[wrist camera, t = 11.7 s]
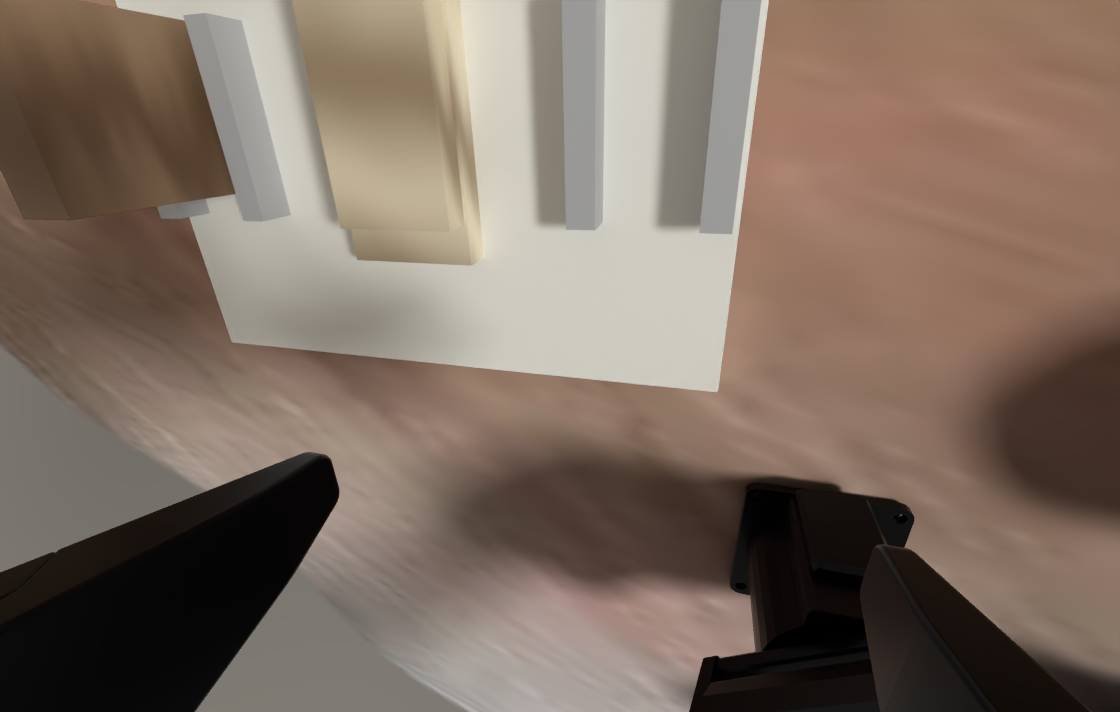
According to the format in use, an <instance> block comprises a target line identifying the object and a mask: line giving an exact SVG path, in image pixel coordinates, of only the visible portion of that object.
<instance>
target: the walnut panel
mask: <svg viewBox="0 0 1120 712" xmlns="http://www.w3.org/2000/svg"><path fill="white" fill-rule="evenodd" d="M0 170H1V172H2V174H3V176H4V178H5V180H6V182H7V184H8V186H9V188H10V191H11V193H12V195H13V197H14V199H15V201H16V203H17V205H18V207H19V209H20V211H21V213H22V215H23V217H24V219H43V220H75V219H81V218H87V217H94V216H100V215H106V214H113V213H119V212H125V211H131V210H138V209H144V208H150V207H157V206H163V205H169V204H175V203H182V202H188V201H194V200H201V199H207V198H213V197H220V196H226V195H232V194H236V193H235V190H234V186H233V183H232V180H231V176H230V173H229V169H228V166H227V163H226V159H225V156H224V152H223V149H222V146H221V142H220V139H219V136H218V132H217V129H216V125H215V122H214V119H213V115H212V112H211V108H210V105H209V102H208V98H207V95H206V91H205V88H204V85H203V81H202V78H201V75H200V71H199V68H198V64H197V61H196V58H195V54H194V51H193V47H192V44H191V41H190V37H189V34H188V30H187V27H186V24H185V21H184V20H179V19H174V18H169V17H163V16H158V15H153V14H148V13H142V12H137V11H132V10H126V9H121V8H116V7H111V6H105V5H100V4H95V3H90V2H84V1H79V0H0Z"/></svg>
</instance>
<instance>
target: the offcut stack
mask: <svg viewBox="0 0 1120 712" xmlns="http://www.w3.org/2000/svg"><path fill="white" fill-rule="evenodd" d="M292 4H293V9H294V13H295V18H296V23H297V27H298V32H299V37H300V41H301V46H302V51H303V55H304V60H305V65H306V69H307V74H308V79H309V84H310V88H311V93H312V98H313V102H314V107H315V112H316V116H317V121H318V126H319V130H320V135H321V140H322V144H323V149H324V154H325V158H326V163H327V168H328V172H329V177H330V182H331V187H332V191H333V196H334V201H335V205H336V210H337V215H338V219H339V224H340V228H341V229H351V232H352V237H353V242H354V247H355V252H356V257H357V260H365V261H386V262H407V263H427V264H448V265H469V266H472V265H473V264H475V263H476V262H478V261H480V260H481V259H483V258H484V254H483V243H482V232H481V221H480V210H479V199H478V189H477V178H476V167H475V156H474V145H473V135H472V124H471V113H470V102H469V91H468V80H467V70H466V59H465V48H464V37H463V26H462V15H461V5H460V0H292Z"/></svg>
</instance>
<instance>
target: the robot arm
mask: <svg viewBox="0 0 1120 712" xmlns="http://www.w3.org/2000/svg"><path fill="white" fill-rule="evenodd" d="M755 493H760V494H762V495H761V496H754V495H753V494H755ZM338 498H339V486H338V483H337V479H336V475H335V472H334V468H333V465H332V461H331V459H330V458H329V457H328V456H327V455H324V454H319V453H312V452H306V453H302V454H300V455H297V456H295V457H292V458H290V459H287V460H284V461H282V462H279V463H277V464H274V465H272V466H269V467H267V468H264V469H262V470H259V471H257V472H254V473H252V474H249V475H247V476H244V477H241V478H239V479H236V480H234V481H231V482H229V483H226V484H224V485H221V486H219V487H216V488H214V489H211V490H209V491H206V492H203V493H201V494H199V495H196V496H193V497H191V498H189V499H186V500H183V501H181V502H179V503H176V504H173V505H171V506H168V507H166V508H163V509H160V510H158V511H156V512H153V513H150V514H148V515H145V516H143V517H140V518H138V519H135V520H133V521H130V522H128V523H125V524H123V525H120V526H118V527H115V528H112V529H110V530H108V531H105V532H102V533H100V534H97V535H95V536H92V537H90V538H87V539H85V540H82V541H80V542H77V543H74V544H72V545H69V546H67V547H64V548H62V549H60V550H58V551H57V552H56V553H55V552H52V553H49V554H46V555H44V556H41V557H39V558H36V559H34V560H31V561H29V562H26V563H24V564H21V565H18V566H16V567H13V568H11V569H8V570H5V571H3V572H0V712H195V711H196V710H197V708H198V707H199V706H200V704H201V703H202V701H203V700H204V698H205V697H206V696H207V694H208V693H209V692H210V690H211V689H212V687H213V686H214V685H215V683H216V682H217V681H218V679H219V678H220V677H221V675H222V674H223V672H224V671H225V670H226V668H227V667H228V665H229V664H230V663H231V661H232V660H233V658H234V657H235V656H236V654H237V653H238V652H239V650H240V649H241V647H242V646H243V644H244V643H245V642H246V641H247V639H248V638H249V636H250V635H251V634H252V632H253V631H254V630H255V628H256V627H257V625H258V624H259V622H260V621H261V620H262V618H263V617H264V616H265V614H266V613H267V611H268V610H269V609H270V607H271V606H272V605H273V603H274V602H275V600H276V599H277V598H278V596H279V595H280V594H281V592H282V591H283V589H284V588H285V586H286V585H287V584H288V582H289V581H290V579H291V578H292V576H293V575H294V573H295V572H296V570H297V568H298V567H299V565H300V563H301V562H302V560H303V558H304V557H305V555H306V553H307V552H308V550H309V548H310V547H311V545H312V543H313V542H314V540H315V538H316V537H317V535H318V533H319V532H320V530H321V528H322V527H323V525H324V523H325V522H326V520H327V518H328V517H329V515H330V513H331V512H332V510H333V508H334V507H335V505H336V503H337V501H338ZM898 514H902V516H900V517H894V516H896V515H898ZM913 523H914V516H913V514H912V512H911V510H910V508H909V507H908V506H906V505H905V504H902V503H896V502H889V501H882V500H875V499H868V498H862V497H855V496H848V495H841V494H834V493H827V492H820V491H813V490H806V489H798V488H791V487H784V486H777V485H770V484H763V483H752V484H749V485H748V486H747V487H746V489H745V493H744V499H743V504H742V510H741V516H740V522H739V527H738V533H737V539H736V545H735V550H734V556H733V562H732V568H731V573H730V587H731V588H732V590H734V591H735V592H738V593H742V594H747V595H750V598H751V609H752V620H753V630H754V641H755V652H753V653H747V654H741V655H735V656H729V657H723V658H719V657H718V656H712V657H706V658H704V659H703V662H702V665H701V669H700V673H699V677H698V681H697V684H696V688H695V692H694V696H693V700H692V703H691V707H690V711H689V712H1091V711H1090V710H1089V709H1088V708H1087V707H1086V706H1085V705H1084V704H1082V703H1081V702H1080V701H1079V700H1078V699H1077V698H1076V697H1075V696H1074V695H1072V694H1071V693H1070V692H1069V691H1068V690H1067V689H1066V688H1065V687H1064V686H1062V685H1061V684H1060V683H1059V682H1058V681H1057V680H1056V679H1055V678H1054V677H1053V676H1051V675H1050V674H1049V673H1048V672H1047V671H1046V670H1045V669H1044V668H1043V667H1041V666H1040V665H1039V664H1038V663H1037V662H1036V661H1035V660H1034V659H1033V658H1031V657H1030V656H1029V655H1028V654H1027V653H1026V652H1025V651H1024V650H1023V649H1021V648H1020V647H1019V646H1018V645H1017V644H1016V643H1015V642H1014V641H1013V640H1011V639H1010V638H1009V637H1008V636H1007V635H1006V634H1005V633H1004V632H1003V631H1001V630H1000V629H999V628H998V627H997V626H996V625H995V624H994V623H993V622H991V621H990V620H989V619H988V618H987V617H986V616H985V615H984V614H983V613H981V612H980V611H979V610H978V609H977V608H976V607H975V606H974V605H973V604H972V603H970V602H969V601H968V600H967V599H966V598H965V597H964V596H963V595H962V594H960V593H959V592H958V591H957V590H956V589H955V588H954V587H953V586H952V585H950V584H949V583H948V582H947V581H946V580H945V579H944V578H943V577H942V576H940V575H939V574H938V573H937V572H936V571H935V570H934V569H933V568H932V567H930V566H929V565H928V564H927V563H926V562H925V561H924V560H923V559H922V558H920V557H919V556H918V555H917V554H916V553H915V552H913V551H912V550H910V549H907V548H904V547H905V544H906V541H907V539H908V536H909V533H910V531H911V528H912V525H913ZM739 582H743V583H739Z"/></svg>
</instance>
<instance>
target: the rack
mask: <svg viewBox="0 0 1120 712" xmlns="http://www.w3.org/2000/svg"><path fill="white" fill-rule="evenodd" d="M115 1H116V4H117V7H118V8H121V9H126V10H132V11H137V12H142V13H148V14H153V15H158V16H163V17H169V18H174V19H179V20H184V21H185V24H186V27H187V30H188V34H189V37H190V41H191V44H192V47H193V51H194V54H195V58H196V61H197V64H198V68H199V71H200V75H201V78H202V81H203V85H204V88H205V91H206V95H207V98H208V102H209V105H210V108H211V112H212V115H213V119H214V122H215V125H216V129H217V132H218V136H219V139H220V142H221V146H222V149H223V152H224V156H225V159H226V163H227V166H228V169H229V173H230V176H231V180H232V183H233V186H234V190H235V193H236V194H232V195H226V196H220V197H213V198H207V199H201V200H194V201H188V202H182V203H175V204H169V205H163V206H157V209H158V212H159V214H160V217H161V219H182V218H188V217H189V218H190V221H191V224H192V227H193V230H194V233H195V236H196V239H197V242H198V245H199V247H200V250H201V253H202V256H203V259H204V262H205V265H206V268H207V271H208V274H209V277H210V280H211V283H212V286H213V289H214V292H215V294H216V297H217V300H218V303H219V306H220V309H221V312H222V315H223V318H224V321H225V324H226V327H227V330H228V333H229V336H230V338H231V341H232V342H233V343H243V344H253V345H262V346H272V347H282V348H291V349H301V350H311V351H321V352H330V353H340V354H350V355H360V356H369V357H379V358H389V359H399V360H408V361H418V362H428V363H438V364H447V365H457V366H467V367H477V368H486V369H496V370H506V371H516V372H525V373H535V374H545V375H555V376H564V377H574V378H584V379H593V380H603V381H613V382H623V383H632V384H642V385H652V386H662V387H671V388H681V389H691V390H701V391H710V392H718V387H719V379H720V372H721V364H722V356H723V349H724V341H725V333H726V326H727V318H728V310H729V302H730V295H731V287H732V279H733V272H734V264H735V256H736V249H737V241H738V233H739V225H740V218H741V210H742V202H743V195H744V187H745V179H746V172H747V164H748V156H749V148H750V141H751V133H752V125H753V118H754V110H755V102H756V94H757V87H758V79H759V71H760V64H761V56H762V48H763V41H764V33H765V25H766V17H767V10H768V2H769V0H460V5H461V15H462V26H463V37H464V48H465V59H466V70H467V80H468V91H469V102H470V113H471V124H472V135H473V145H474V156H475V167H476V178H477V189H478V199H479V210H480V221H481V232H482V243H483V254H484V258H483V259H481V260H480V261H478V262H476V263H475V264H473V265H472V266H469V265H448V264H427V263H407V262H386V261H365V260H357V257H356V252H355V247H354V242H353V237H352V232H351V229H341V228H340V224H339V219H338V215H337V210H336V205H335V201H334V196H333V191H332V187H331V182H330V177H329V172H328V168H327V163H326V158H325V154H324V149H323V144H322V140H321V135H320V130H319V126H318V121H317V116H316V112H315V107H314V102H313V98H312V93H311V88H310V84H309V79H308V74H307V69H306V65H305V60H304V55H303V51H302V46H301V41H300V37H299V32H298V27H297V23H296V18H295V13H294V9H293V4H292V0H115Z"/></svg>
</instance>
